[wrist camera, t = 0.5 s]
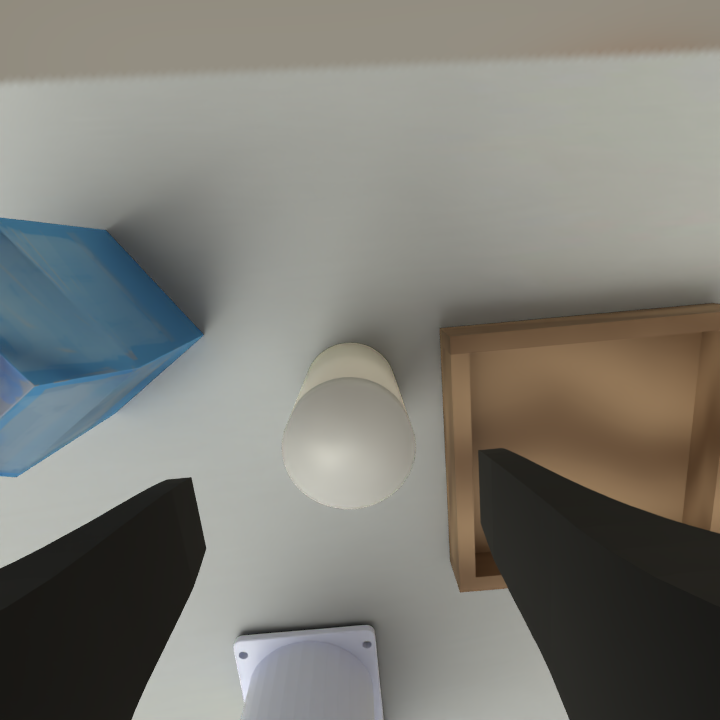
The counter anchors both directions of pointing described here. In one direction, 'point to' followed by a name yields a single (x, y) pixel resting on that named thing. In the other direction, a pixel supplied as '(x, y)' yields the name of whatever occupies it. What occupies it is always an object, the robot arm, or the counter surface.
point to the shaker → (349, 430)
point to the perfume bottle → (74, 336)
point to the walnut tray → (585, 414)
